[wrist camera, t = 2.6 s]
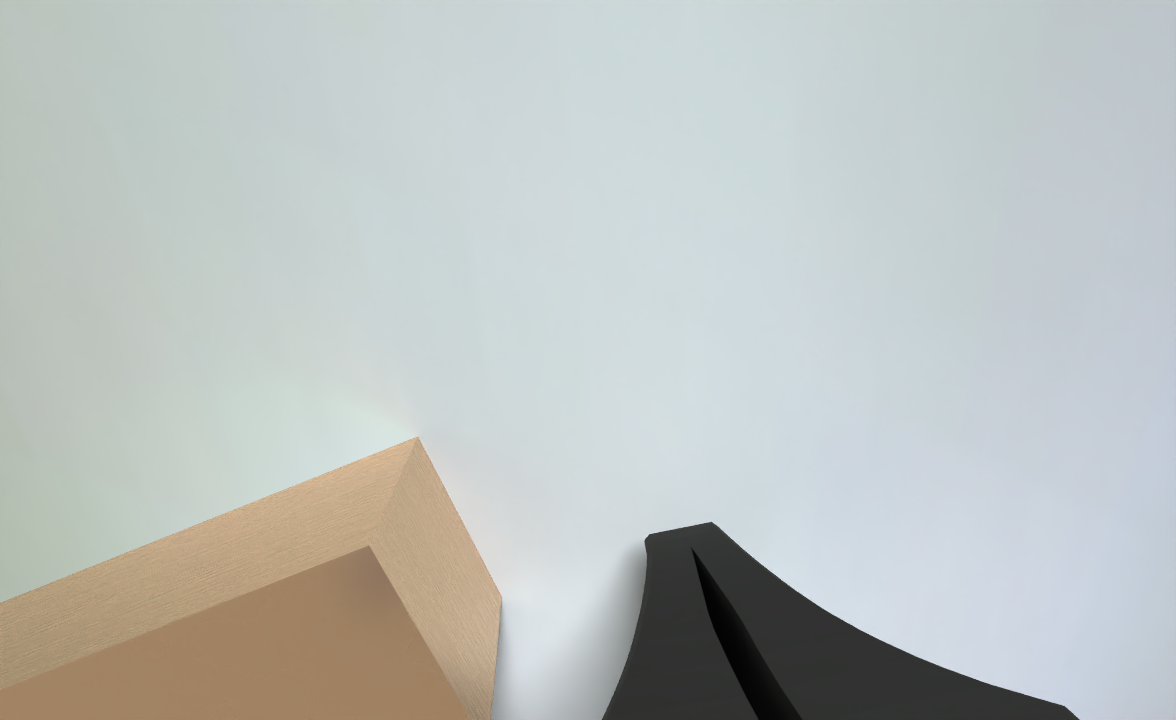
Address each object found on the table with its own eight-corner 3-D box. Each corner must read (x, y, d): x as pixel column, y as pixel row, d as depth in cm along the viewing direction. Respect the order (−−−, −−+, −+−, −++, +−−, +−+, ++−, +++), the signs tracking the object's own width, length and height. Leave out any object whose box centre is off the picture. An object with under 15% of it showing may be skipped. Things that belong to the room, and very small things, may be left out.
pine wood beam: (502, 589, 14) (488, 750, 10) (-74, 811, 14) (-294, 1042, 11) (420, 430, 13) (369, 545, 9) (-203, 679, 13) (-502, 886, 9)
